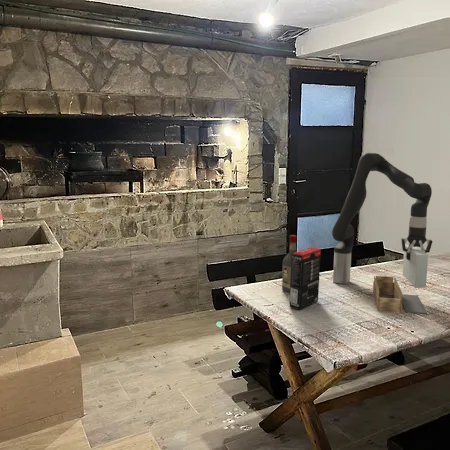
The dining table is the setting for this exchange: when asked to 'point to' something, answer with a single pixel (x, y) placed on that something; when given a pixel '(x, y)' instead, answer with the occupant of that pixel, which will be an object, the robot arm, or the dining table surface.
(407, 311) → the mat
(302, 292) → the graphics card box
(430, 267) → the dining table surface
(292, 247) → the liquor
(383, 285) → the carton
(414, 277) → the skincare box
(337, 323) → the dining table surface
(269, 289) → the dining table surface
